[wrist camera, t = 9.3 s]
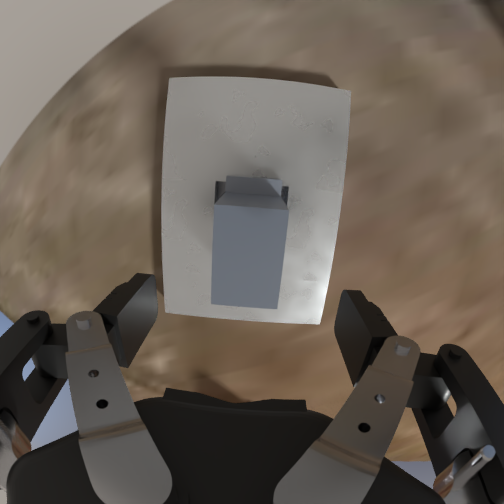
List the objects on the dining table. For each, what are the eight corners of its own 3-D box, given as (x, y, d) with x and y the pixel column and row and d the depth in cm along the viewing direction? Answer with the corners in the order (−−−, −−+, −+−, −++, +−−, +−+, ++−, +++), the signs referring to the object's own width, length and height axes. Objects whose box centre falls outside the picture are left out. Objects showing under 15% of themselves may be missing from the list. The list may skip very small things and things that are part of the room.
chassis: (344, 95, 20) (351, 91, 18) (316, 314, 26) (319, 324, 25) (175, 83, 20) (169, 77, 18) (170, 303, 26) (165, 312, 24)
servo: (279, 177, 22) (291, 188, 15) (269, 275, 25) (275, 325, 17) (229, 173, 22) (215, 182, 14) (224, 271, 25) (210, 320, 17)
